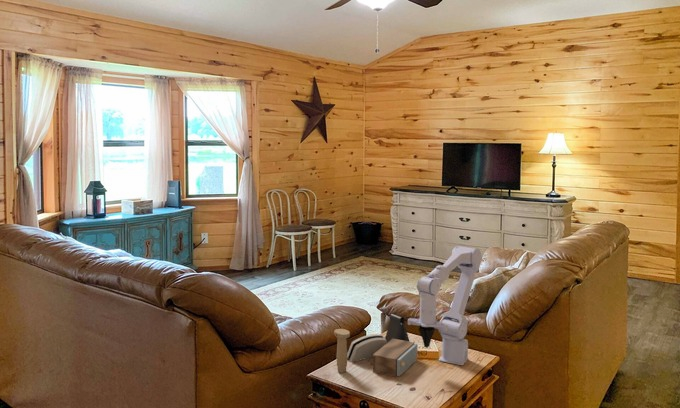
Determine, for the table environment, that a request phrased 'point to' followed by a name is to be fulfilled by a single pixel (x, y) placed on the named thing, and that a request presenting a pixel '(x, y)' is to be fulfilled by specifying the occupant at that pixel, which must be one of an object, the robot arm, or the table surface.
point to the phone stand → (396, 328)
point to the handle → (342, 349)
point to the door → (406, 359)
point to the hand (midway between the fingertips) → (426, 346)
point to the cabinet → (390, 356)
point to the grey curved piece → (365, 347)
